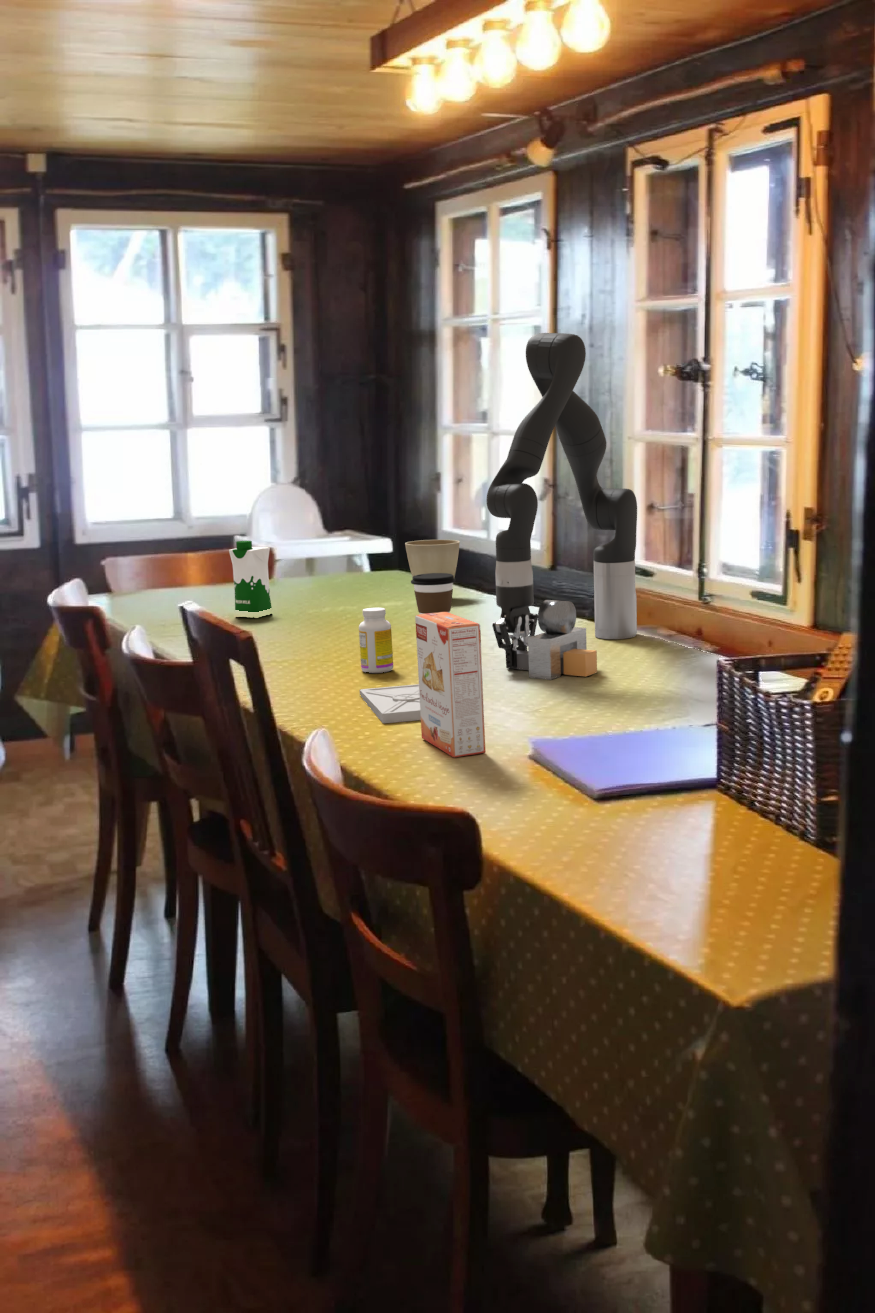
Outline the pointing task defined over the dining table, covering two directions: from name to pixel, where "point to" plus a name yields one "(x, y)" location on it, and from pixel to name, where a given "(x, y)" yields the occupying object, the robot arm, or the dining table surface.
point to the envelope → (394, 702)
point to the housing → (554, 638)
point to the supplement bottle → (375, 641)
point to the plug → (567, 662)
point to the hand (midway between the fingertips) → (517, 666)
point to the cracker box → (450, 683)
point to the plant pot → (432, 556)
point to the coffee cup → (433, 592)
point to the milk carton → (250, 577)
